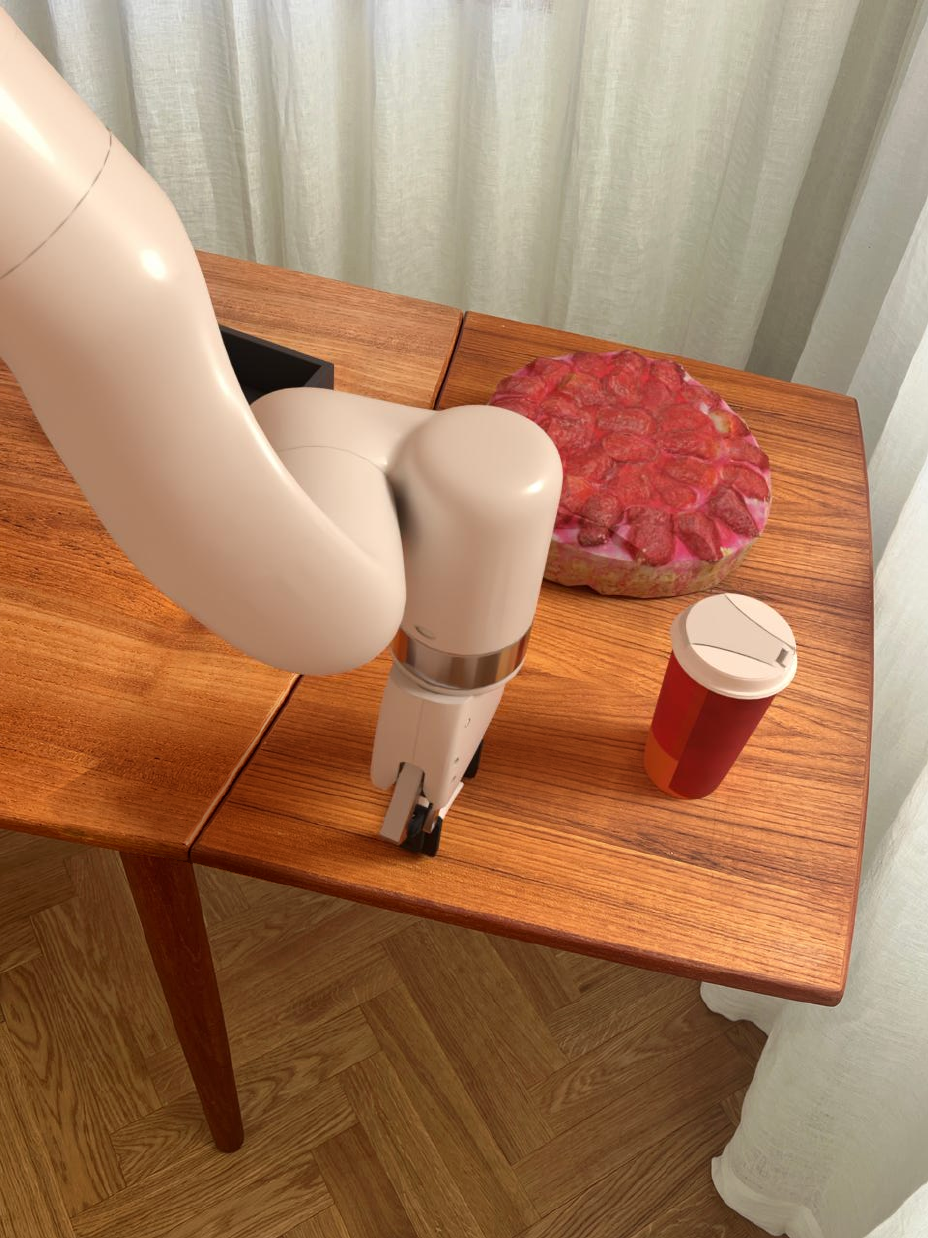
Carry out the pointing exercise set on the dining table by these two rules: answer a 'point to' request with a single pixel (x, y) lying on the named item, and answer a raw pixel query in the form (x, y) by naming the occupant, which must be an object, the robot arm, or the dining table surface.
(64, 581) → the dining table surface
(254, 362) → the bin
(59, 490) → the dining table surface
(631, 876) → the dining table surface
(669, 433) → the cake
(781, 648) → the paper cup
